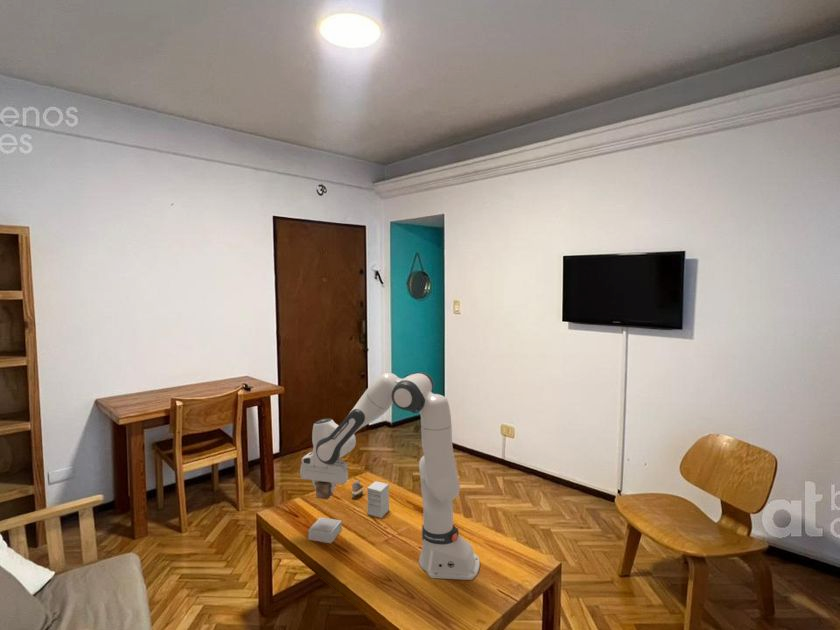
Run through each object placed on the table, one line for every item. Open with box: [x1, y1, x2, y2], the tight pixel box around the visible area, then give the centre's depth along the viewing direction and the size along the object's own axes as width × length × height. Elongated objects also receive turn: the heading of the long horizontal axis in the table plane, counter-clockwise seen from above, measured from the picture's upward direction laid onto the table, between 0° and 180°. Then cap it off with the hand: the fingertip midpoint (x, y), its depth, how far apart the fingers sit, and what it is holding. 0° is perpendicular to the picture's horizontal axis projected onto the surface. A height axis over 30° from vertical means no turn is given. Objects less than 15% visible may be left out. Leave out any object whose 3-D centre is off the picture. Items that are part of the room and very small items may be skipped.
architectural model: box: [350, 478, 366, 499], centre depth 217 cm, size 3×7×7 cm, turn 148°
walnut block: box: [315, 481, 334, 500], centre depth 184 cm, size 5×5×6 cm
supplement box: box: [366, 480, 390, 519], centre depth 203 cm, size 7×7×13 cm
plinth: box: [307, 517, 343, 544], centre depth 186 cm, size 10×10×4 cm
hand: (324, 490), depth 184 cm, fingers closed on walnut block, 5 cm apart
